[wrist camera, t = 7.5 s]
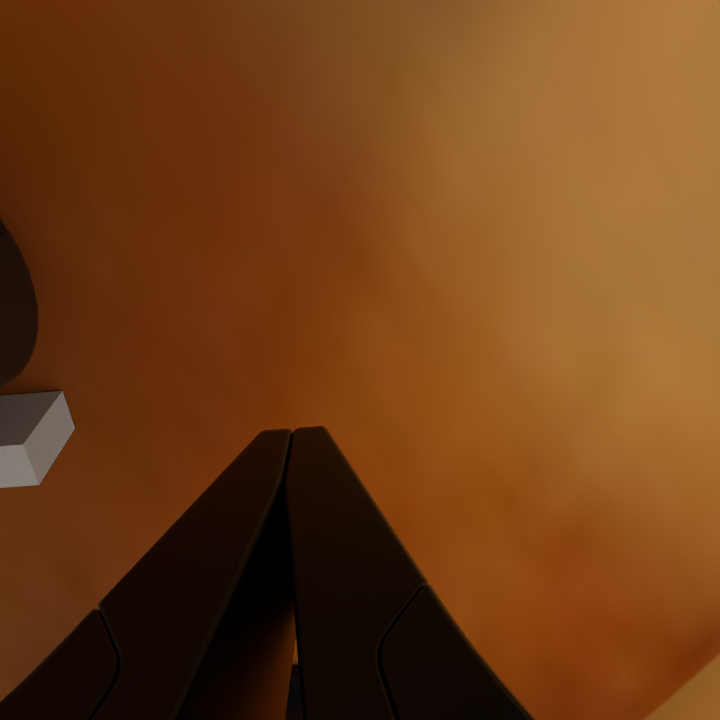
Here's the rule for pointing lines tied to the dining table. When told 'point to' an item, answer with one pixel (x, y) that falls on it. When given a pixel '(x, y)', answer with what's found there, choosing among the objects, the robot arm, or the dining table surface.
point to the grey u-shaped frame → (31, 435)
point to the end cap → (15, 310)
